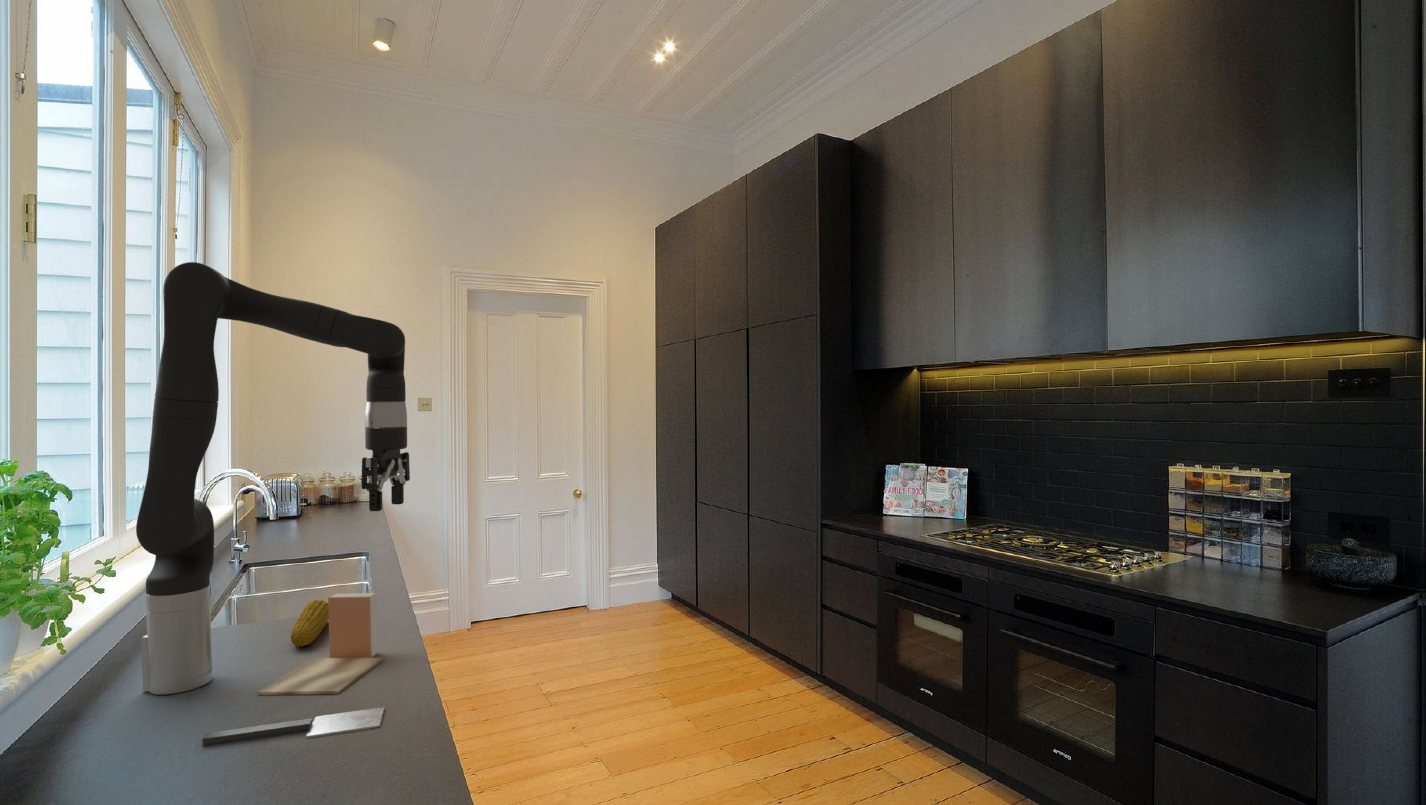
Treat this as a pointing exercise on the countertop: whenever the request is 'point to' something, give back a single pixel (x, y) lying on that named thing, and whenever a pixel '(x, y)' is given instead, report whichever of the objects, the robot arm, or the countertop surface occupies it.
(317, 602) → the food
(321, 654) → the countertop surface
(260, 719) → the countertop surface
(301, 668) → the board
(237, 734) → the knife with black handle
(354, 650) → the sponge
